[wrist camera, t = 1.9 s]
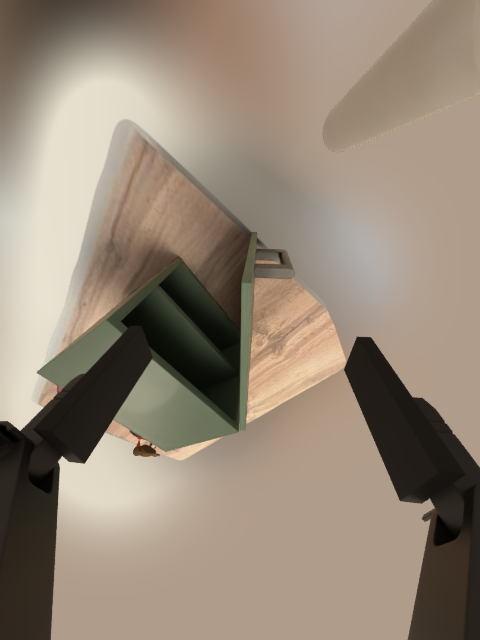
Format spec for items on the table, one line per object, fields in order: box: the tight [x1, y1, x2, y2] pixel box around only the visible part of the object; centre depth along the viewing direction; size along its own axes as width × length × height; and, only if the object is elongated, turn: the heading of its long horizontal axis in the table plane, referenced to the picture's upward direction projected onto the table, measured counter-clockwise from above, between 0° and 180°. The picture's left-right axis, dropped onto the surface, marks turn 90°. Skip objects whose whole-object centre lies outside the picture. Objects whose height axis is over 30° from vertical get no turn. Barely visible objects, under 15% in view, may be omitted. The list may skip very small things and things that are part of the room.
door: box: [240, 232, 295, 430], centre depth 36 cm, size 7×26×24 cm, turn 0°
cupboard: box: [37, 257, 241, 452], centre depth 42 cm, size 18×26×24 cm
